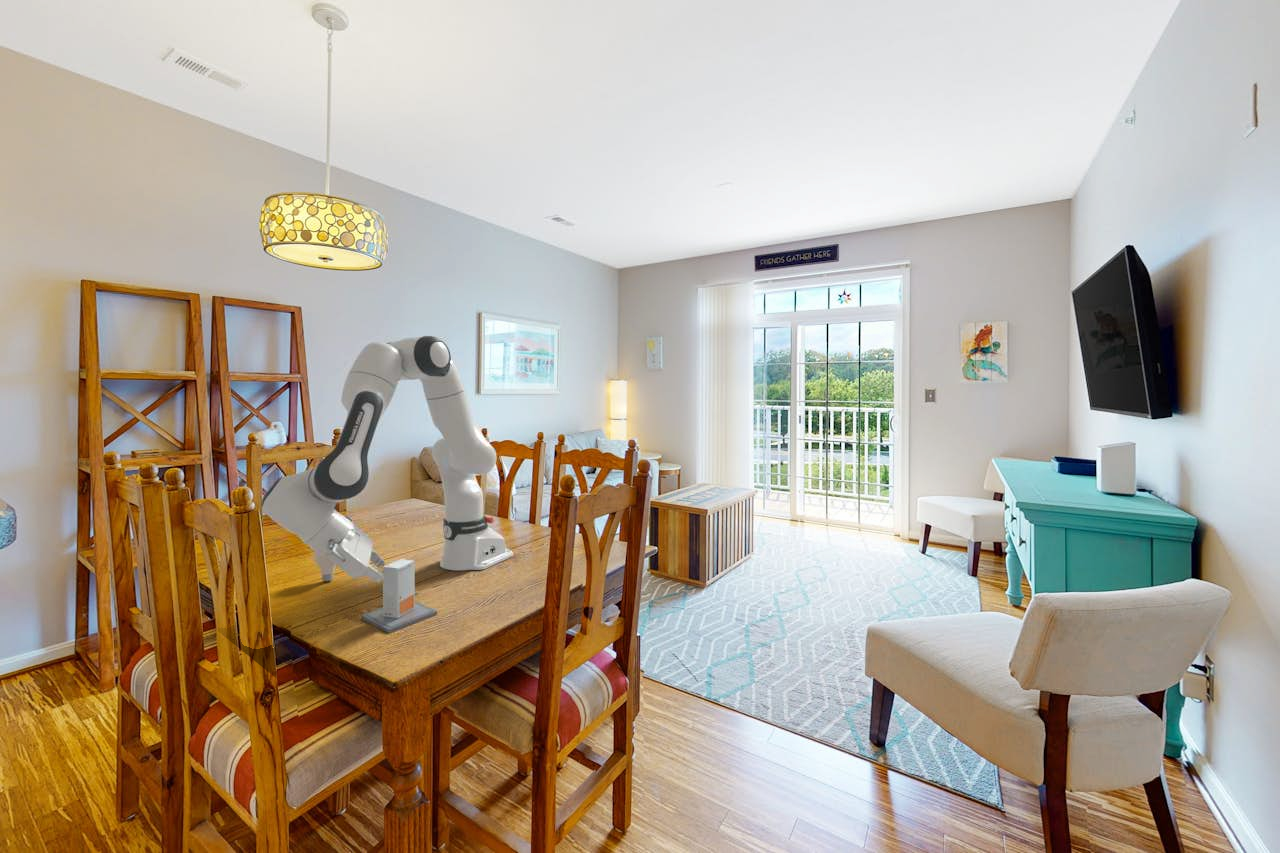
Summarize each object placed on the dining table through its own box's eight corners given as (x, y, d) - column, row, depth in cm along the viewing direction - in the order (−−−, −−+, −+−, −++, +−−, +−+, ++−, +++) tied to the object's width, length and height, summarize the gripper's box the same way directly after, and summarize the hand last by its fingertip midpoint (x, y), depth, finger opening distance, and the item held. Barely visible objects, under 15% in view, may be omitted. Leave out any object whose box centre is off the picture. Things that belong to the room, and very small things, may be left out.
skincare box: (398, 619, 120) (397, 568, 119) (382, 616, 121) (381, 566, 120) (416, 608, 126) (415, 560, 125) (401, 606, 127) (400, 558, 126)
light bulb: (321, 577, 147) (320, 538, 147) (346, 576, 148) (345, 538, 147) (308, 586, 141) (307, 546, 140) (334, 585, 141) (333, 545, 141)
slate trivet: (409, 601, 132) (409, 598, 132) (437, 614, 125) (437, 610, 125) (361, 618, 122) (361, 614, 122) (388, 633, 115) (388, 629, 115)
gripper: (338, 537, 108) (391, 576, 113) (348, 514, 127) (393, 548, 131) (313, 560, 107) (368, 599, 111) (327, 534, 125) (374, 568, 130)
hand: (382, 571), depth 121 cm, fingers open, 8 cm apart
